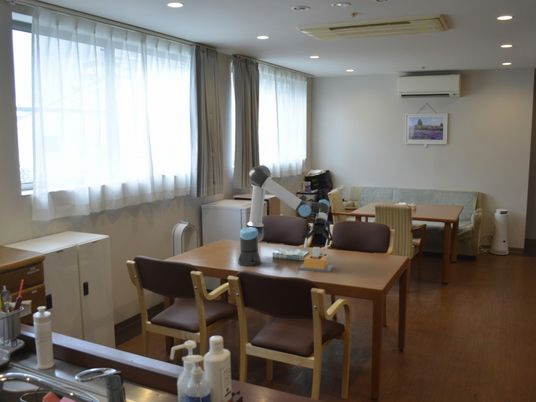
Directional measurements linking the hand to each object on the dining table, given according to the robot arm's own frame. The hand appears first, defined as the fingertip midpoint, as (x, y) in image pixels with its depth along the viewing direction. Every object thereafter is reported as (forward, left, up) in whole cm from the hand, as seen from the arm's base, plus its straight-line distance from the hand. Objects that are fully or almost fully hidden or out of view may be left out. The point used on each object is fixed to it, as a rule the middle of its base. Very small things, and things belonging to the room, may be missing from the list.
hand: (315, 248), depth 316 cm
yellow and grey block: (0, +2, -14) cm, 14 cm away
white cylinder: (0, +2, -12) cm, 12 cm away
